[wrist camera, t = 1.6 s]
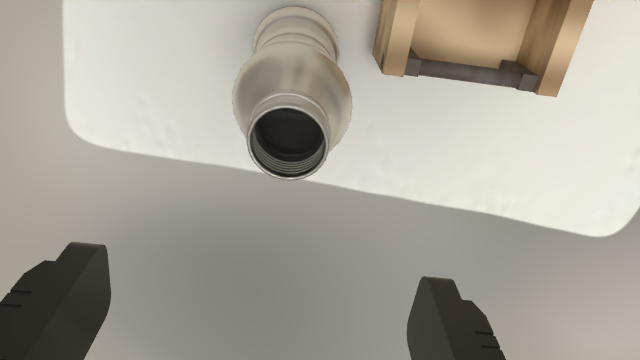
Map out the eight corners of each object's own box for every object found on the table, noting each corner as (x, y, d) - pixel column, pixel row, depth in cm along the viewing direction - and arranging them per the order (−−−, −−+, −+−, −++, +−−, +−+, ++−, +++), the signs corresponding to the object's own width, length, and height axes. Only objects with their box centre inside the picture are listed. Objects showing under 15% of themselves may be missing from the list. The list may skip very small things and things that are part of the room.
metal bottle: (296, -18, 36) (285, 33, 18) (354, 48, 38) (393, 148, 21) (239, 41, 38) (178, 138, 20) (297, 100, 40) (289, 232, 23)
